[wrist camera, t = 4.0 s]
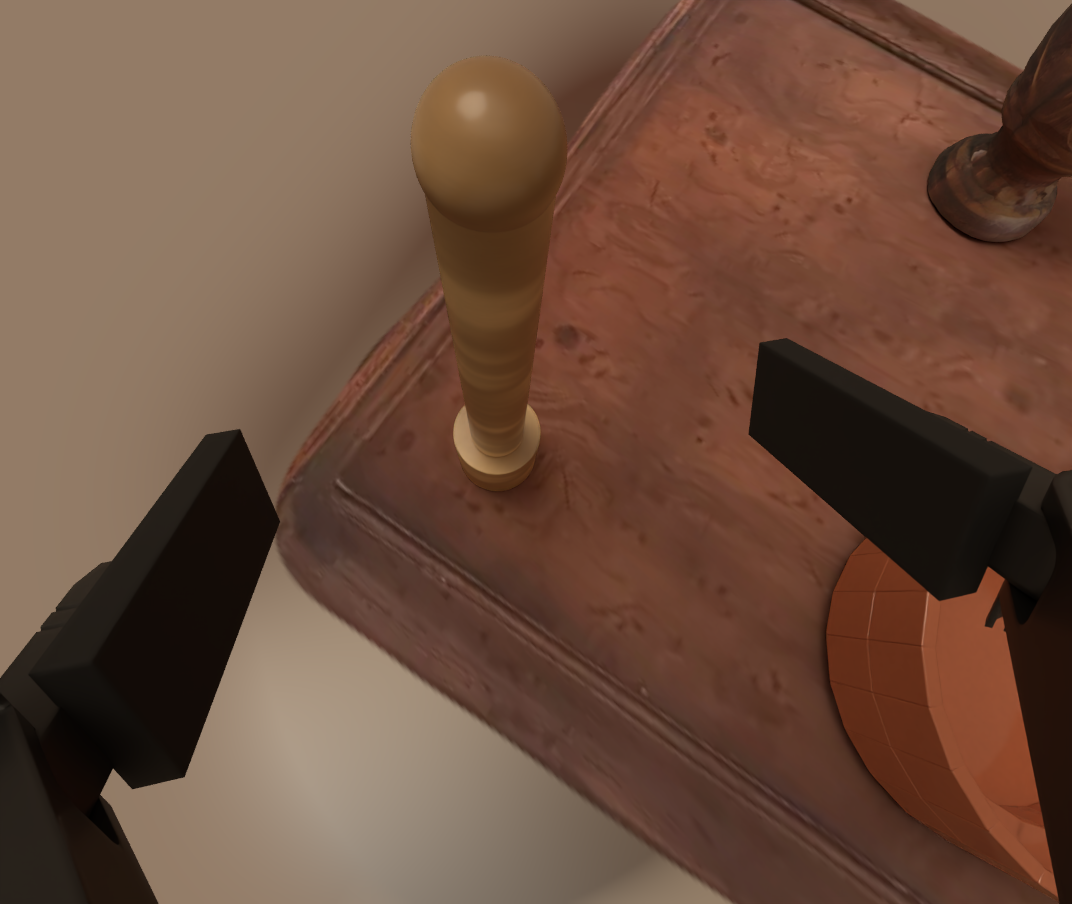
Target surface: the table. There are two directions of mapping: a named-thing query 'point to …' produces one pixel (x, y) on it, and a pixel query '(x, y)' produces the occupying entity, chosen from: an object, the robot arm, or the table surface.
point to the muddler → (491, 245)
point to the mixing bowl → (938, 711)
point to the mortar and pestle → (1014, 151)
